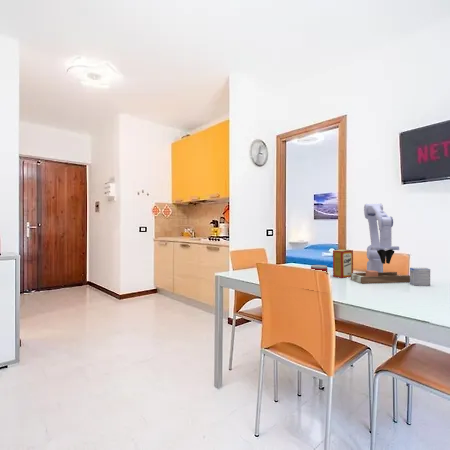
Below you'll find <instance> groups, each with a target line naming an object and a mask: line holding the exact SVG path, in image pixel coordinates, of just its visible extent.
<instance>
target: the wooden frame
mask: <svg viewBox="0 0 450 450" xmlns="http://www.w3.org/2000/svg"><path fill="white" fill-rule="evenodd" d="M350 280H351V281H353V280H354V282H356V283H359V284H364V285H365V284H369V285H370V284H393V283H394V284H395V283H397V284H399V283H410V274H409V275H408V274H406V275H399V274H398V271H387V272H386V271H385V272H384V271H383V272H378V276H369V277H366V272H356V273H355V272H353V273H351V277H350Z"/></svg>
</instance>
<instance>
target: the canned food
mask: <svg viewBox="0 0 450 450" xmlns="http://www.w3.org/2000/svg"><path fill="white" fill-rule="evenodd" d="M311 269H315V270H322V271H326V272H327V273H328V266H327V265H323V264H312V265H310V270H311Z"/></svg>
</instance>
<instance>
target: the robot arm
mask: <svg viewBox="0 0 450 450" xmlns="http://www.w3.org/2000/svg"><path fill="white" fill-rule="evenodd" d="M363 214H364V218H365V219H366V220H367V222H368V229H369V236H370V244H369V245H368V246H367V248H366V258H367V259H368V261H367V263H366V270H374V271H378V272H384V264H388V265H389V264H391V261H392V257H393V255H394V254H395V251H400V246H397V245H396V246H395V245H394V246H393V244H392V228H393V226H394V218H393V216H389V215H388V214H387V213H386V212H385V211H384V206H383V204H382V203H365V204H364V207H363Z"/></svg>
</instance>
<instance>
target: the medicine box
mask: <svg viewBox="0 0 450 450" xmlns="http://www.w3.org/2000/svg"><path fill="white" fill-rule="evenodd" d="M409 275H410V282H409V284H410V285H411V286H413V285H414V286H413V287H417V286H418V287H419V286H420V287H421V286H422V287H424V286H426V287H427V286H429V287H431V269H430V268H429V267H410V268H409Z"/></svg>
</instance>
